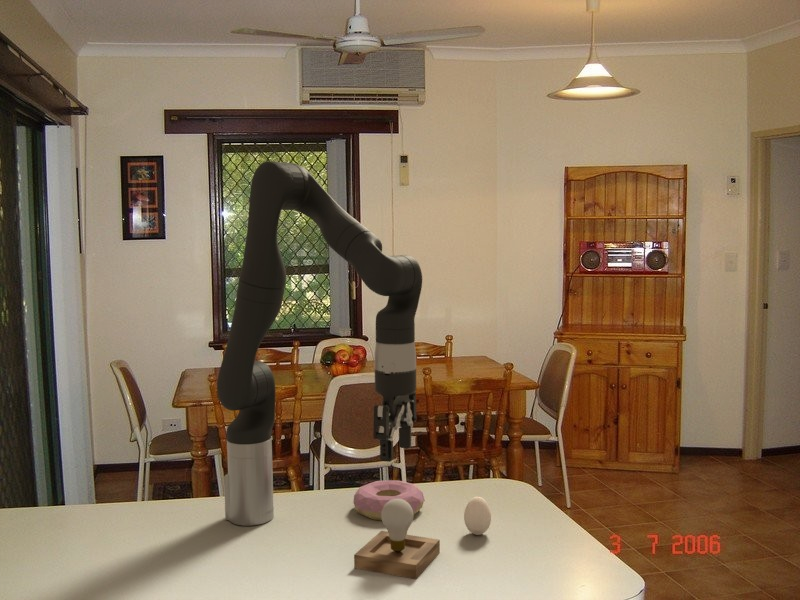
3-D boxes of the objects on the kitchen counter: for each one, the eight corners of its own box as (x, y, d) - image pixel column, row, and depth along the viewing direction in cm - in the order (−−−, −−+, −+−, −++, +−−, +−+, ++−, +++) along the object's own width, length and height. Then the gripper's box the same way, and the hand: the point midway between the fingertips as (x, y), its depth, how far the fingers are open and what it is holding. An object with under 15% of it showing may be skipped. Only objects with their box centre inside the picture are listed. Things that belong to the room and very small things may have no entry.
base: (354, 568, 145) (354, 554, 144) (381, 543, 156) (381, 530, 155) (416, 578, 140) (416, 565, 140) (439, 552, 151) (439, 539, 151)
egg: (484, 527, 163) (484, 491, 162) (495, 537, 158) (495, 499, 157) (459, 531, 161) (459, 494, 160) (470, 541, 156) (470, 503, 155)
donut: (430, 501, 179) (430, 479, 179) (415, 526, 164) (415, 503, 164) (363, 496, 183) (363, 475, 182) (343, 521, 168) (343, 498, 167)
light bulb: (410, 560, 144) (410, 506, 143) (378, 557, 145) (377, 504, 144) (416, 546, 150) (415, 494, 149) (385, 544, 151) (385, 493, 150)
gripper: (392, 358, 152) (392, 442, 154) (359, 372, 139) (360, 463, 141) (429, 361, 149) (429, 446, 151) (399, 375, 136) (399, 467, 138)
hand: (396, 454), depth 146 cm, fingers open, 8 cm apart
